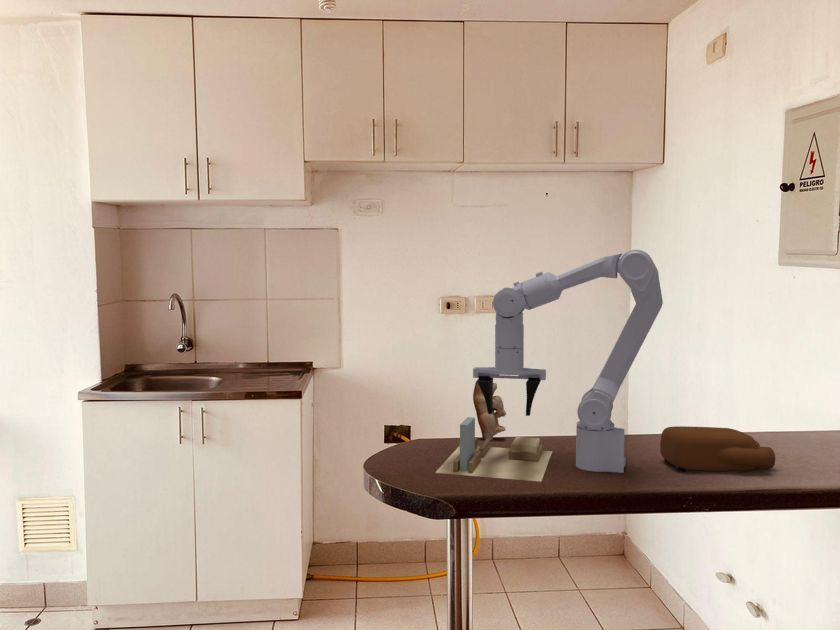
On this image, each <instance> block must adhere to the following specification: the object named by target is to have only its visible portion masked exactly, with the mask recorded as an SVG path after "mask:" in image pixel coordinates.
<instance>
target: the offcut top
mask: <svg viewBox="0 0 840 630" xmlns="http://www.w3.org/2000/svg"><path fill="white" fill-rule="evenodd" d="M540 445H541V438H539V437H524V436H523V437H522V436H515V438H514V440H513V441H512V443H511V446H510V448H511V452H519V453H533V454H536V453H537V451H538V448H539V446H540Z"/></svg>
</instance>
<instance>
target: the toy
mask: <svg viewBox="0 0 840 630" xmlns="http://www.w3.org/2000/svg"><path fill="white" fill-rule="evenodd" d="M660 436H661V437H660V443H659V445H660V446H659V447H660V449H659V450H660V455H661V456H662V458H663V459H664V461H665V463H666V462H668V463H667V464H671V465H674V466H675V467H676V469H677V471H679V472H680V471H681V473H683V472H684V473H685V472H686V471H687V470H690V471H692V470H693V471H707V472H708V471H711V472H734V473H735V472H737V473H739V472H741V473H742V472H744V473H745V472H749V471H751V470H752V469H773V467H774V466H775V465H776V464H775V463H776V453H775V451H774V449H773V447H770V446H761V445H760V443H759V442H758V441H756V439H754V437H752V436H751V435H749V434H747V433H744V432H742V431H740V430H737V429H734V428H729V427H712V426H685V425H684V426H682V425H681V426H679V425H678V426H668V427H665V428H664V429H663V430H662V432H661V435H660Z"/></svg>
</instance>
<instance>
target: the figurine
mask: <svg viewBox="0 0 840 630" xmlns="http://www.w3.org/2000/svg"><path fill="white" fill-rule="evenodd" d="M496 390H498V384H497V383H496V382H493V391H492V399H493V413H492V414H488V410H487V405H486V401H485V398H484V396H483V393H482V391H481V389H480V387H479V385H478V379H477V380H476V381H475V384H474V388H473V393H472V401H473V406H474V408H475V409H474V410H475V412H476V418H477V422H478V425H479V428H480V432H481V438H482V440H484V441H485V440H486V439H487V438H491V441H493V440H494V436H496V435H497V434H500V433H502V432H505V431H506V427H505V426H503V425H500V423H499V419H500V418H502V417H506V416H507V412H506V410H505V409H504V401H503V399H502V397H501V396H499V395H495V391H496Z"/></svg>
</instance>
